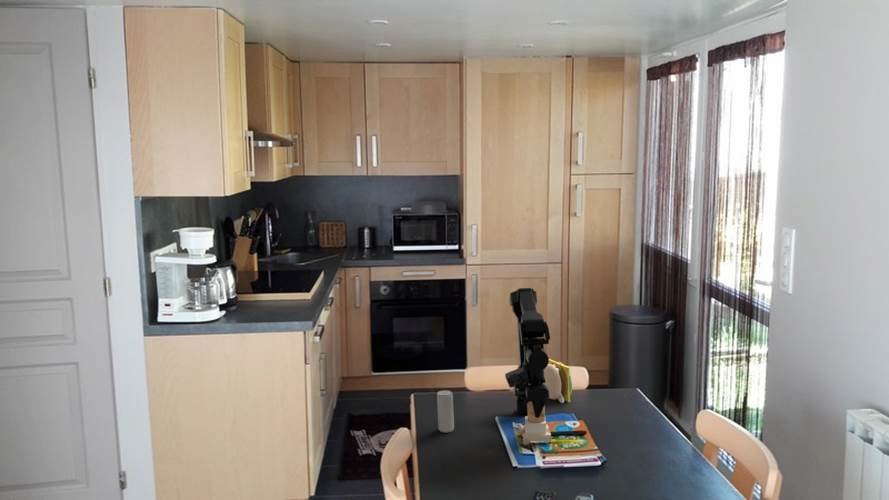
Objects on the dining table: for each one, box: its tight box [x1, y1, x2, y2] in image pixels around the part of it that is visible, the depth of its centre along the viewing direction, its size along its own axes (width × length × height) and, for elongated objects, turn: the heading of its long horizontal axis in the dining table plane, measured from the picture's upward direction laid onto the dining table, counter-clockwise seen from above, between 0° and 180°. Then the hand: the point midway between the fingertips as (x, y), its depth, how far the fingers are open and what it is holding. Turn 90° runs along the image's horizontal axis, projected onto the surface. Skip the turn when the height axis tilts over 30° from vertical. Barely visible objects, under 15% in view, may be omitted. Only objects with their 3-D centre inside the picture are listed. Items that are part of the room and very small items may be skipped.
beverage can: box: [436, 389, 455, 434], centre depth 218 cm, size 5×5×12 cm
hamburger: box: [543, 358, 573, 404], centre depth 242 cm, size 12×8×12 cm
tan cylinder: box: [527, 402, 546, 423], centre depth 208 cm, size 5×5×5 cm
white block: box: [524, 415, 547, 434], centre depth 209 cm, size 6×6×3 cm
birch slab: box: [520, 424, 552, 444], centre depth 209 cm, size 8×8×3 cm
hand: (535, 411), depth 208 cm, fingers open, 9 cm apart
